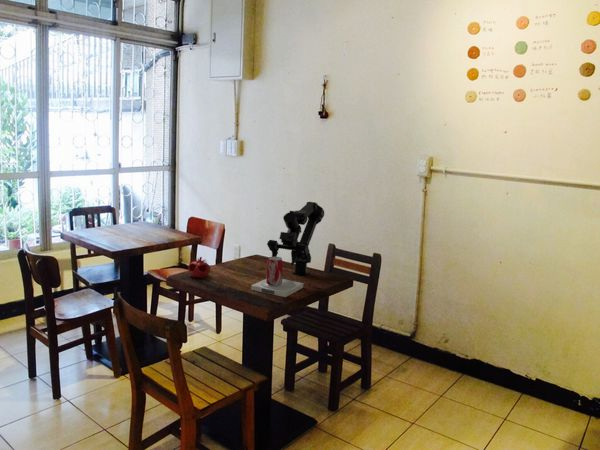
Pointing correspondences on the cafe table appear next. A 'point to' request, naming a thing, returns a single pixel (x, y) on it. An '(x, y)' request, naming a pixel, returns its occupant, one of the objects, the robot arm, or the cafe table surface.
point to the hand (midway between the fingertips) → (282, 263)
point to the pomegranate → (199, 268)
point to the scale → (278, 287)
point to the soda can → (274, 271)
